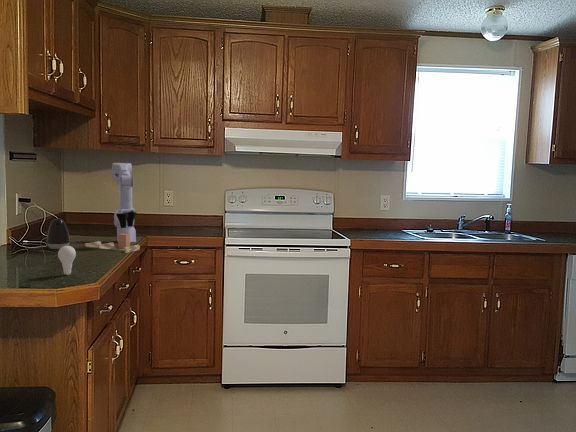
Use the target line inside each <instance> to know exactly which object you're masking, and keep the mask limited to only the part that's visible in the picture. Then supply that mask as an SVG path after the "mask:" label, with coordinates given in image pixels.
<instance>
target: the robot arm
mask: <svg viewBox="0 0 576 432" xmlns="http://www.w3.org/2000/svg"><path fill="white" fill-rule="evenodd" d="M132 169H133V166H132V163H131V162H113V163H111V173H112V179H113V181H115V182H116V184H117V191H118V192H117V194H118V195H117V196H118V208H117V209H116V210H114V213H113V214H114V215H113V224H114V226H115V227H116V239H117V240H116V241H117V243H118V234H122V233H124V234H130V243H132V242H134V243H137V239H136V238H137V237H136V236H137V232H136V229H135V218H136V216H137V213H138V212H136V210H135V207H133V187H134V176H133V174H132V173H133V172H132V171H133V170H132Z"/></svg>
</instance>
